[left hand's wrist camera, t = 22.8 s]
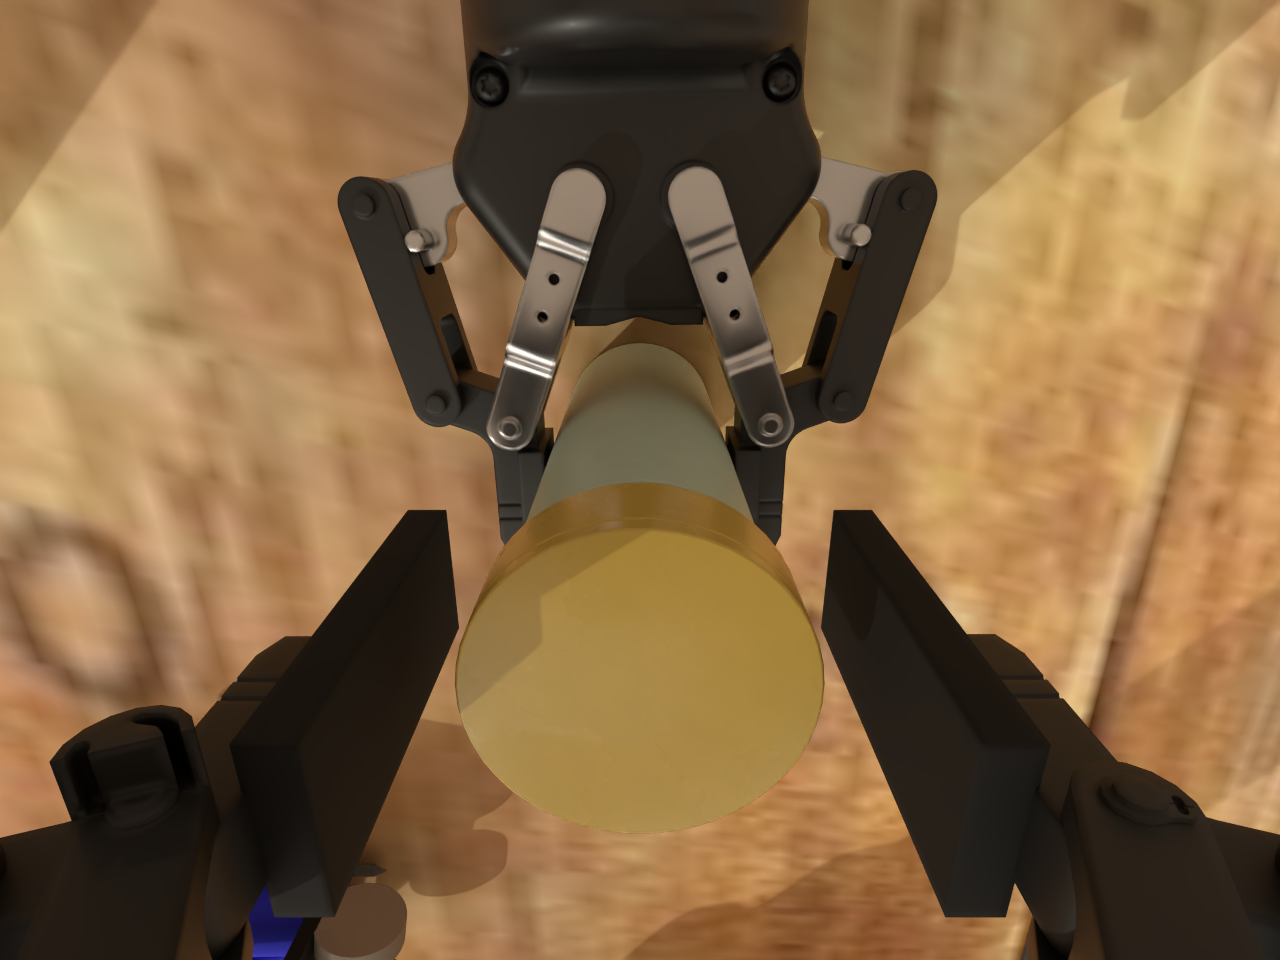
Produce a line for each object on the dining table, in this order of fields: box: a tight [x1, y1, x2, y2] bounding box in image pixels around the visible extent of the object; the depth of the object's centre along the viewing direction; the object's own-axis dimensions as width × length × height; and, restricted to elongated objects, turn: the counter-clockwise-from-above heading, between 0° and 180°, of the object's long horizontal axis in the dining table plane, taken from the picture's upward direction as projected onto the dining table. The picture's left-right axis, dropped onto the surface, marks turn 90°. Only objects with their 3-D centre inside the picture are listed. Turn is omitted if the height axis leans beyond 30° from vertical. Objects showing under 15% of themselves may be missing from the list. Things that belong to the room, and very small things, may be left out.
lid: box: [455, 483, 824, 833], centre depth 12 cm, size 6×6×2 cm
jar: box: [526, 343, 754, 523], centre depth 19 cm, size 5×5×15 cm
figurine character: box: [248, 864, 407, 960], centre depth 30 cm, size 7×8×15 cm
